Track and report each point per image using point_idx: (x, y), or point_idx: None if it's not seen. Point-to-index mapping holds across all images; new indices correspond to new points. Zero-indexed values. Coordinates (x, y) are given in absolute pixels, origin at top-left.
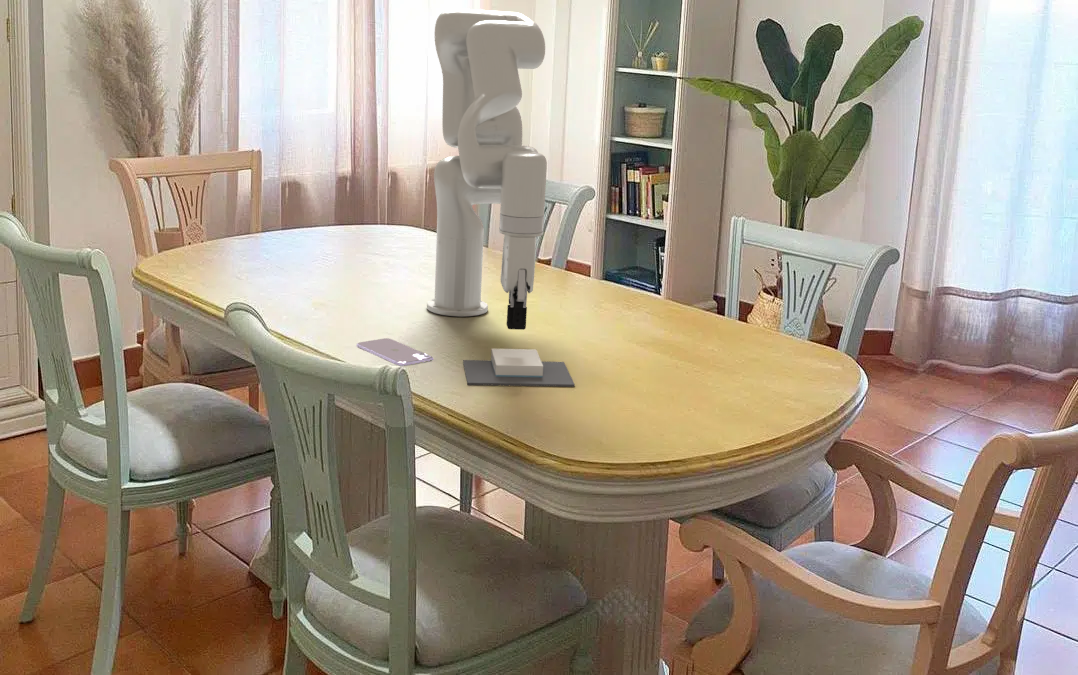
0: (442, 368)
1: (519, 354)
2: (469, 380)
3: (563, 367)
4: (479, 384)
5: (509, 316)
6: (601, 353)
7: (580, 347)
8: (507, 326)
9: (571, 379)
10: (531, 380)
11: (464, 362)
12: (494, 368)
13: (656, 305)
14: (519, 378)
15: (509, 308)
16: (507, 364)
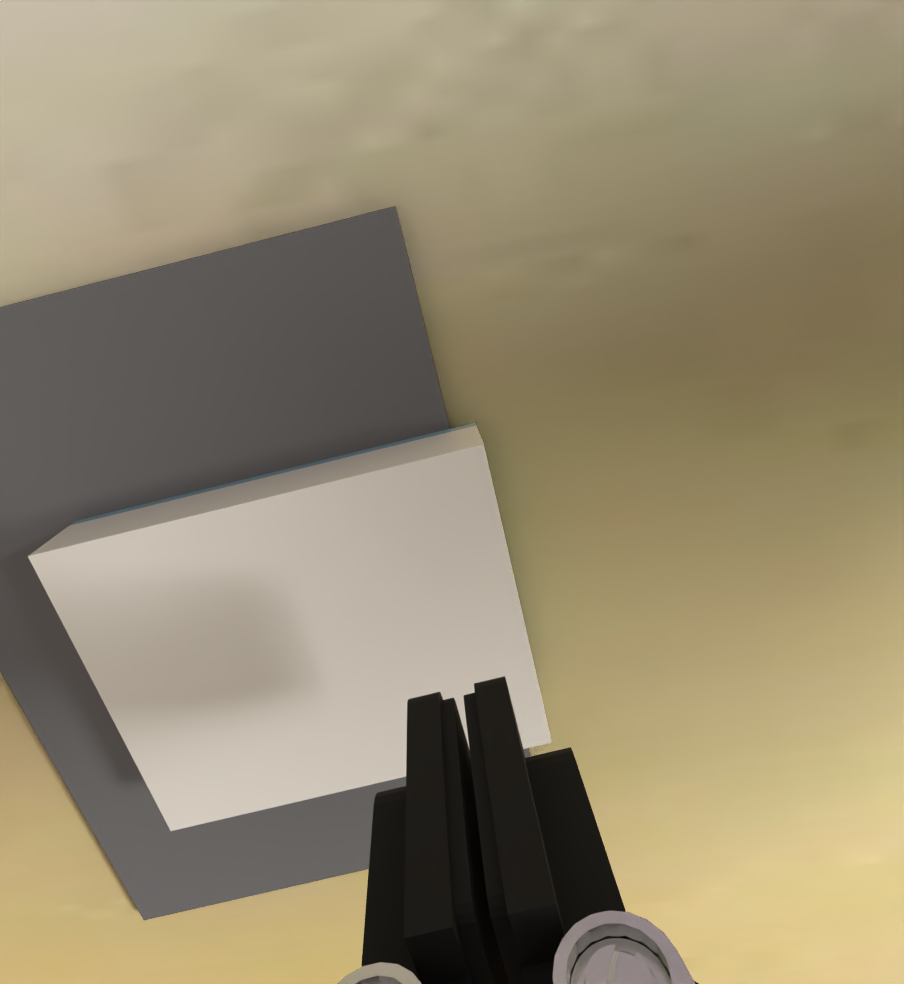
0: (159, 57)
1: (388, 663)
2: None
3: None
4: None
5: (407, 819)
6: (786, 938)
7: (890, 847)
8: (413, 706)
9: (225, 897)
10: (104, 728)
11: (326, 232)
12: (177, 501)
13: None
14: None
15: (412, 923)
16: (90, 627)
